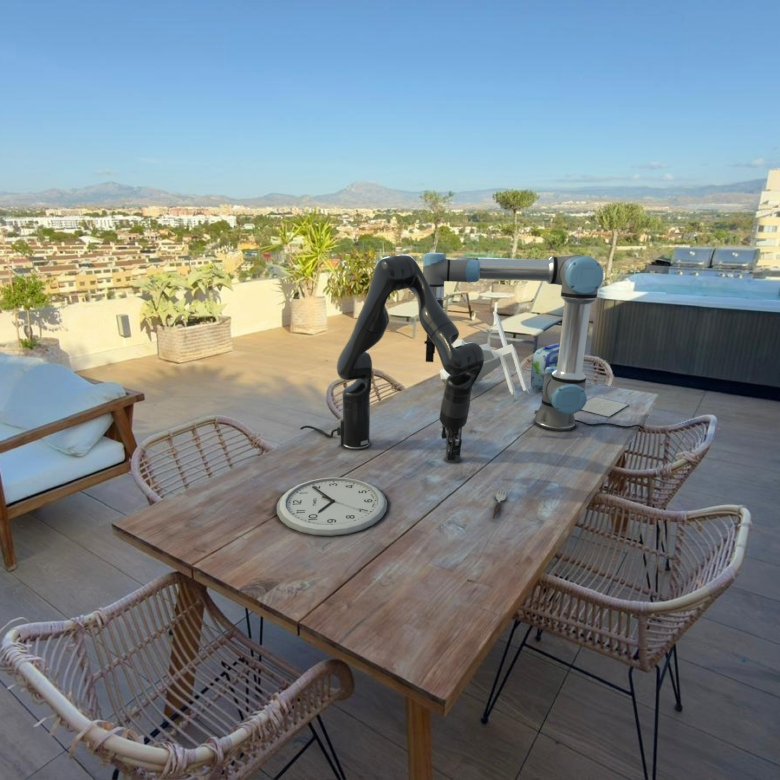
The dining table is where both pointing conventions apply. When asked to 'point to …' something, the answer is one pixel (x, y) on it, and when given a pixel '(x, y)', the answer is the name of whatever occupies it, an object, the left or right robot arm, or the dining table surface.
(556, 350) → the lunch box
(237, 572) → the dining table surface
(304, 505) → the wall clock
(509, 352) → the white plastic object
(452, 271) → the right robot arm
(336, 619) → the dining table surface
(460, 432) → the dark grey cylinder
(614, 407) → the invitation card
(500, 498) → the fork
